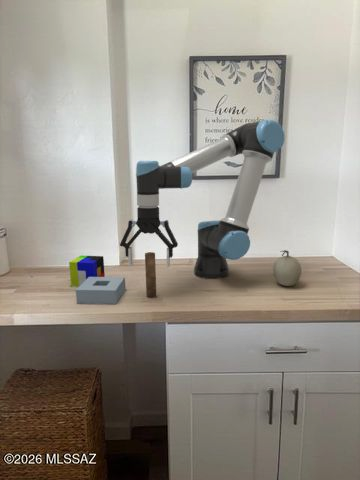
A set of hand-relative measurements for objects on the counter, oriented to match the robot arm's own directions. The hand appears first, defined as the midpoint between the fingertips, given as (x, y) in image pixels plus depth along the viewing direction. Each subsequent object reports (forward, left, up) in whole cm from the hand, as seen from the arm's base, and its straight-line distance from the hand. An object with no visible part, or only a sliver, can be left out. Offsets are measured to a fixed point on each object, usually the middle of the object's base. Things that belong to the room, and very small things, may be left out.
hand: (149, 265), depth 125 cm
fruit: (-51, -14, -12) cm, 55 cm away
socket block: (+18, +1, -12) cm, 21 cm away
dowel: (0, 0, -12) cm, 12 cm away
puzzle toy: (+28, -14, -12) cm, 33 cm away
